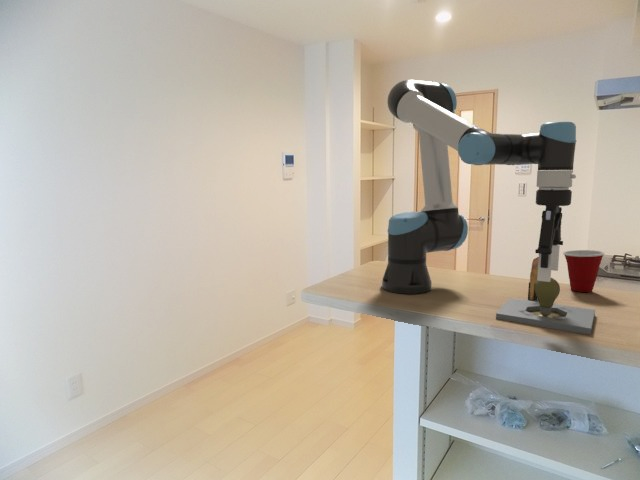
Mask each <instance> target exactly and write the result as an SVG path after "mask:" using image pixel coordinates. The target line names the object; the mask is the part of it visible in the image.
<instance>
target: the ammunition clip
mask: <svg viewBox="0 0 640 480" xmlns="http://www.w3.org/2000/svg"><path fill="white" fill-rule="evenodd" d="M538 259H539V256H537V257H535V258H534V259H533V260H532V263H531V269H530V275H529V282H528V289H527V290H528V293H527V300H529V301H536V302H537V300H538V297H537V295H536V293H535V284H536V282H537V274H538Z"/></svg>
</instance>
